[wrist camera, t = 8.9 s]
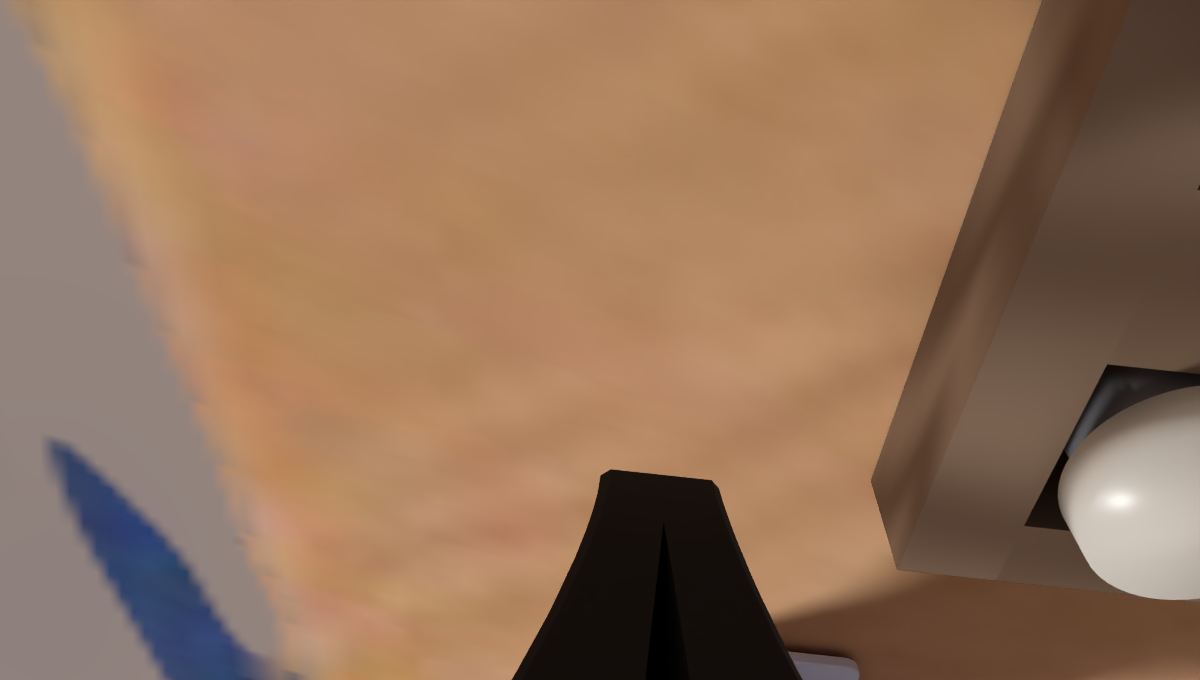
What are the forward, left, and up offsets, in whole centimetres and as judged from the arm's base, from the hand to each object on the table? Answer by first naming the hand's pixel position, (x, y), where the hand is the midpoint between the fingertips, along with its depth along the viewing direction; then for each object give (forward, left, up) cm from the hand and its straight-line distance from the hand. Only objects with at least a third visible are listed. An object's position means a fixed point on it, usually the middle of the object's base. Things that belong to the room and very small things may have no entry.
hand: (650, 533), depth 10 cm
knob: (-3, -11, -9) cm, 15 cm away
